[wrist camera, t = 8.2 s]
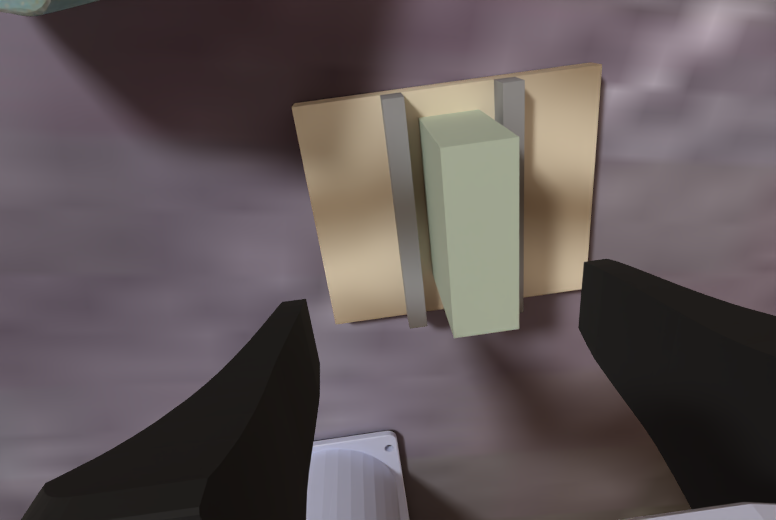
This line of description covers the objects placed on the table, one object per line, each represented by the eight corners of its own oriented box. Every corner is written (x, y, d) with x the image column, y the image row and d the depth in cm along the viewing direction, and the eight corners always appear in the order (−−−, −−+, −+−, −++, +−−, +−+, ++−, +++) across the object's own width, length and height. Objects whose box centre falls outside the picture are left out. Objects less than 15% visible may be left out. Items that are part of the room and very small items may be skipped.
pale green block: (484, 266, 22) (518, 328, 18) (432, 274, 22) (453, 338, 18) (479, 109, 19) (519, 136, 15) (418, 117, 19) (440, 147, 14)
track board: (576, 278, 24) (597, 301, 22) (336, 313, 24) (335, 339, 22) (590, 62, 19) (617, 67, 18) (294, 103, 19) (288, 112, 17)
